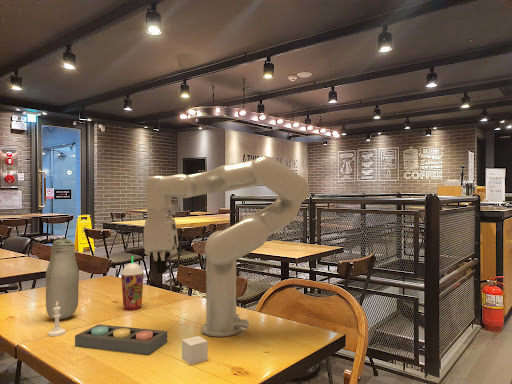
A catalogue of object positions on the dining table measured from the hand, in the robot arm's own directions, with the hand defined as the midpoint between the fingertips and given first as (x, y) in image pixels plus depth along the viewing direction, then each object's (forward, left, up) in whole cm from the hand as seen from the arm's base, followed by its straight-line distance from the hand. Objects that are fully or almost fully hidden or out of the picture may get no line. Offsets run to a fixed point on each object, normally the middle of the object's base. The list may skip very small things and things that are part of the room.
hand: (161, 272), depth 119 cm
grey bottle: (+41, -4, -19) cm, 46 cm away
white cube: (-19, +15, -19) cm, 31 cm away
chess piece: (+31, +9, -19) cm, 38 cm away
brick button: (-1, +11, -18) cm, 21 cm away
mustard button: (+6, +11, -18) cm, 22 cm away
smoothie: (+24, -21, -19) cm, 37 cm away
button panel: (+6, +11, -19) cm, 23 cm away
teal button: (+14, +11, -18) cm, 25 cm away
